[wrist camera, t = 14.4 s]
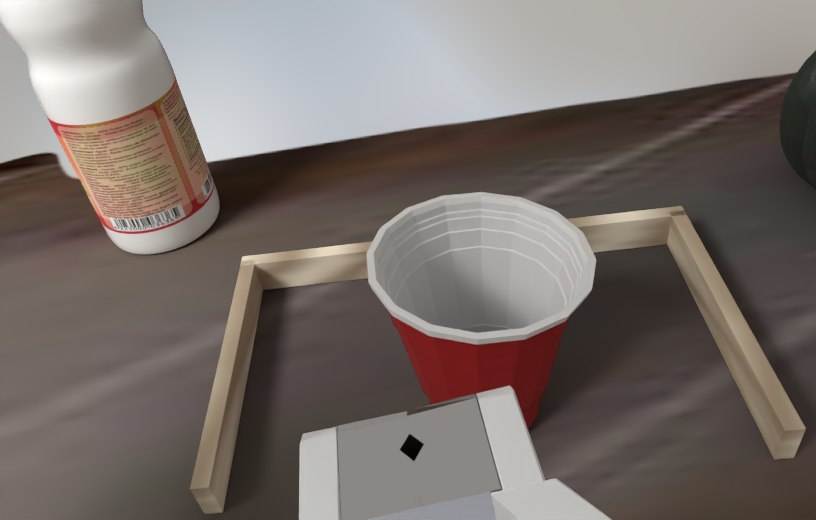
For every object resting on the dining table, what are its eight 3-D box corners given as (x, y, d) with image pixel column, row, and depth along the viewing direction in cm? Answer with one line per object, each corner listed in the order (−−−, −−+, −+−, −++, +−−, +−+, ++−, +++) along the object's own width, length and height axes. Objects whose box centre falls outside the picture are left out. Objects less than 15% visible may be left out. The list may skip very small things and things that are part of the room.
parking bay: (204, 514, 38) (189, 489, 36) (251, 282, 52) (242, 256, 50) (793, 457, 36) (806, 428, 34) (676, 233, 50) (681, 205, 48)
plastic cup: (622, 452, 37) (645, 289, 30) (431, 519, 36) (402, 366, 28) (536, 317, 45) (535, 162, 38) (377, 367, 44) (342, 216, 36)
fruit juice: (157, 272, 54) (-37, -133, 36) (89, 235, 59) (-113, -138, 41) (245, 207, 59) (115, -175, 41) (176, 178, 64) (33, -175, 46)
